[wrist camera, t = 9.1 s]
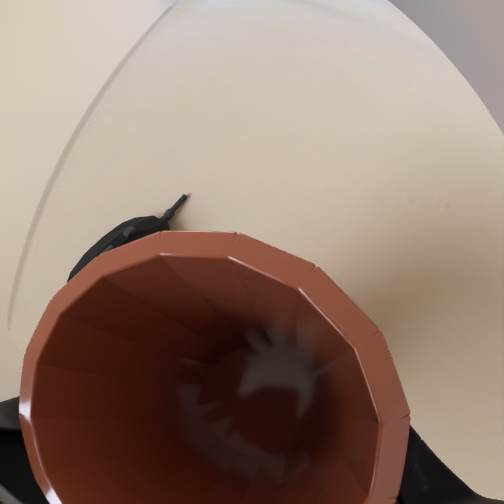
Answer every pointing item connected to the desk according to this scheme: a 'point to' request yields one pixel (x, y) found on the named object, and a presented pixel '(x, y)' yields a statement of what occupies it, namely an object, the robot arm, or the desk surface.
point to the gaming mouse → (127, 235)
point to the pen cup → (210, 382)
